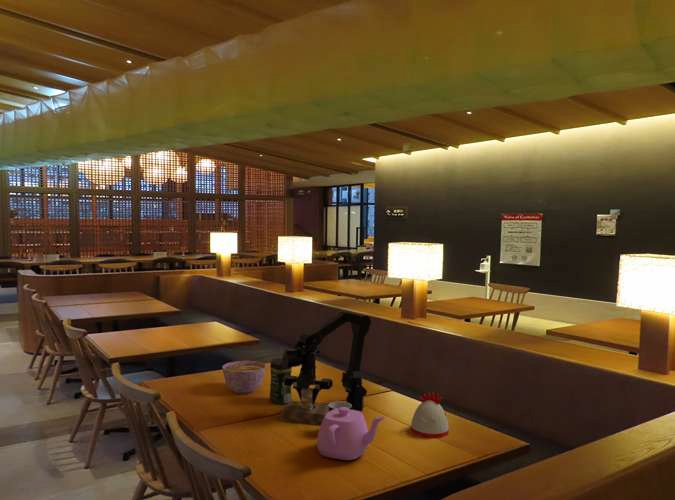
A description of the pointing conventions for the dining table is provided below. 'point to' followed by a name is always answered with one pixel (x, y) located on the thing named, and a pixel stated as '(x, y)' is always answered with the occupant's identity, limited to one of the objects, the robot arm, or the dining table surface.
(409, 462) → the dining table surface
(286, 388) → the coffee jar
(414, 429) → the kitchen timer
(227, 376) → the bowl of food
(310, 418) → the grey block with hole
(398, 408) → the dining table surface
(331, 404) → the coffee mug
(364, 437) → the teapot
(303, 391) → the wooden post
